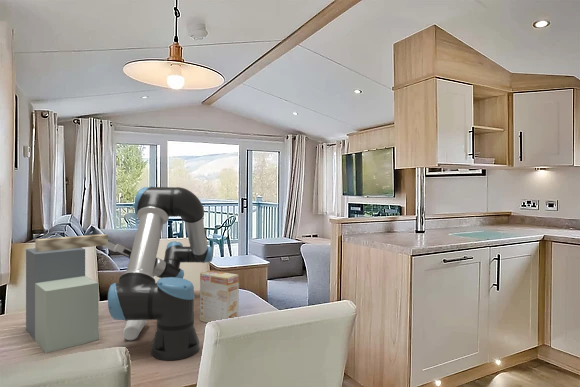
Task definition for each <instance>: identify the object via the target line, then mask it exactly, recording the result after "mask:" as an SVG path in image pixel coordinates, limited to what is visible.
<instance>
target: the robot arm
mask: <svg viewBox="0 0 580 387" xmlns="http://www.w3.org/2000/svg"><path fill="white" fill-rule="evenodd" d="M133 208H134V209H133V210H134V213H135V215H136V216H137V219H138V220H139V221H138V226H137V229H136V232H135V233H136V234H135V237H134V241H133V244H132V247H131V248H132V249H130V248H128V247H125V246H123V245H121V244H119V243H117V244H115V243H113V242H111V241H108V245H103V246H102V247H104V248H106V249H107V250H110V251H112V252H114V255H116V254H118V255H119V254H120V255H121V256H124V257H125V258H128V264H127V267H126V270H125V271H126V272H124V273H122V274H121V275H119V278H118V282H114V283H111V284H110V286H109V288H108V292H107V307H108V311H109V312H108V313H109V316H111V318H112V319H113V320H115V321H126V322H127V320H147V321H149V320H150V321H155V320H156V331H155V334H154V337H153V340H152V343H151V346H150V350H151V352H150V353H151V356H152V357H153V358H155V359H156V360H157V359H158V360H163V361H175V360H176V361H178V360H183V359H186V358H189V357H191V356H193V355H195V354H196V353H198V351H199V349H200V340H199V337H198V334H197V331H196V328H195V324H194V323H195V298H196V296H195V286H194V284H193V282H191V281H190V280H188V279H186V278H184V276H185V271H184V270H183V269H182V268H180V267H181V266H180V265H181V263H200V264H201V263H202V264H204V263H211V262H212V261H213V257H214V256H213V255H214V248H213V247H212V246H208V243H207V236H206V231H205V226H204V216H205V210H204V206H203V203H202V202H201V200H200V199H199V197H198V196H197V195H195V193H193V192H192V191H191V190H189V189H187V188H184V187H178V186H175V187H171V186H146V187H145V186H144V187H141V188H140V189H139V190H138V191H137V193H136V194H135V198H134V204H133ZM170 217H180V218H181V221H183V222H184V224H185V229H186V233H187V234H186V235H187V238H188V243H189V246H184V245H183V243H181V242H180V241H176V240H173V241H169V242H168V243H167V245H166V248H165V252H164V257H163V258H164V259H161V258H159V257H157V254H158V250H159V247H160V246H159V245H160V240H161V236H162V232H163V227H164V225H165V224H167V222H169V219H170ZM154 277H156V278H159V279H157V281H156V279H155V278H154Z"/></svg>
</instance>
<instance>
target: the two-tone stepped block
mask: <svg viewBox="0 0 580 387" xmlns="http://www.w3.org/2000/svg"><path fill="white" fill-rule="evenodd" d="M99 296H100V295H99V282H97V281H95V280H94V279H92V278H91V277H88V276H86V248H84V247H82V248H72V249H61V250H51V251H40V252H38V251H36V250H35V248H26V249H25V330H26V331H27V333H28V334H29V335H30V336H31V337H32V339H33V340H34V341H35V342H36V344H37V345H38V346H39V347H40V348H41V350H42V351H43V352H44V353H45V354H48V353H52V352H56V351H60V350H64V349H68V348H72V347H75V346H79V345H83V344H86V343H87V344H88V343H92V342H96V341H98V340H99V302H100V301H99Z"/></svg>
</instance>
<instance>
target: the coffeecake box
mask: <svg viewBox="0 0 580 387" xmlns="http://www.w3.org/2000/svg"><path fill="white" fill-rule="evenodd" d="M199 276H200V277H199V287H200V288H199V321H200V322H204V323H206V324H209V323H208V322H211V321H216V320H222V319H228V318H234V317H238V318H239V306H240V305H239V300H240V298H239V296H240V294H239V291H240V289H239V288H240V287H239V286H240V281H239V280H240V279H239V278H240V277H239V276H240V275H239V274H236V273H231V272H226V271H225V272H224V271H219V270H212V269H211V270H207V271H202V272H200V273H199Z"/></svg>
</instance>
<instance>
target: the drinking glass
mask: <svg viewBox="0 0 580 387" xmlns="http://www.w3.org/2000/svg"><path fill="white" fill-rule="evenodd" d="M147 321H148V320H127V321H126V323H125V325H124V328H123V331H122V336H123V338H124V339H125V340H128V341H134V340H136V339H137V338H138V337H139V335H140V333H141V332H142V330H143V328H144V327H145V326H146V324H147Z"/></svg>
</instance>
